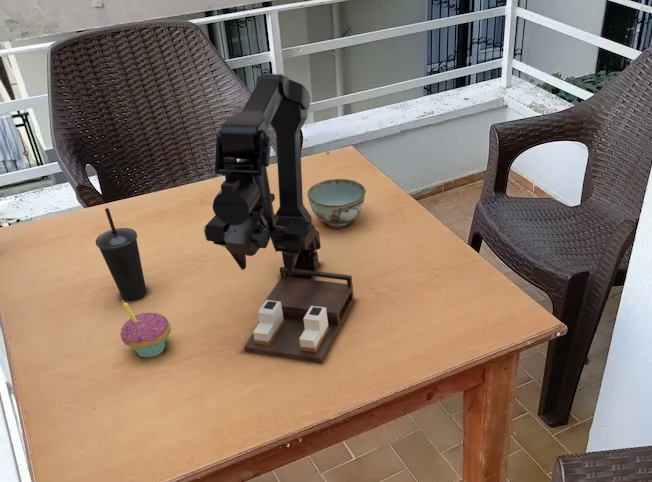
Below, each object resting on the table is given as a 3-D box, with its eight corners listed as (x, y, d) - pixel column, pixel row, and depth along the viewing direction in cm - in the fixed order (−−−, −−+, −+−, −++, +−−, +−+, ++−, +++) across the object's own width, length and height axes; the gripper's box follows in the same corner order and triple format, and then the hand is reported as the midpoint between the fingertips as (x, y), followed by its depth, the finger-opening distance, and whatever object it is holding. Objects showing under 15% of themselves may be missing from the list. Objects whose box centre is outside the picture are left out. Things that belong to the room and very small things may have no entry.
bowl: (298, 226, 163) (294, 196, 159) (333, 202, 172) (330, 173, 168) (345, 241, 157) (342, 210, 153) (378, 216, 167) (376, 186, 162)
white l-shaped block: (269, 320, 132) (265, 299, 129) (284, 322, 132) (280, 301, 129) (254, 343, 127) (250, 322, 124) (269, 345, 126) (265, 324, 123)
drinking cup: (161, 288, 144) (136, 203, 132) (135, 308, 138) (106, 222, 126) (133, 280, 146) (106, 196, 135) (106, 299, 141) (76, 214, 129)
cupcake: (131, 370, 123) (112, 317, 116) (124, 343, 130) (105, 291, 122) (179, 354, 127) (164, 302, 119) (170, 329, 133) (155, 278, 126)
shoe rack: (245, 351, 127) (239, 324, 123) (285, 292, 142) (280, 266, 138) (321, 363, 124) (318, 335, 120) (354, 301, 139) (351, 275, 135)
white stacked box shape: (313, 326, 131) (310, 305, 128) (328, 328, 130) (326, 307, 127) (300, 350, 125) (296, 328, 122) (315, 352, 125) (312, 330, 122)
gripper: (179, 212, 111) (199, 290, 120) (286, 224, 108) (299, 304, 117) (211, 181, 120) (227, 256, 129) (312, 191, 116) (321, 268, 125)
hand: (267, 271), depth 125 cm, fingers open, 9 cm apart
